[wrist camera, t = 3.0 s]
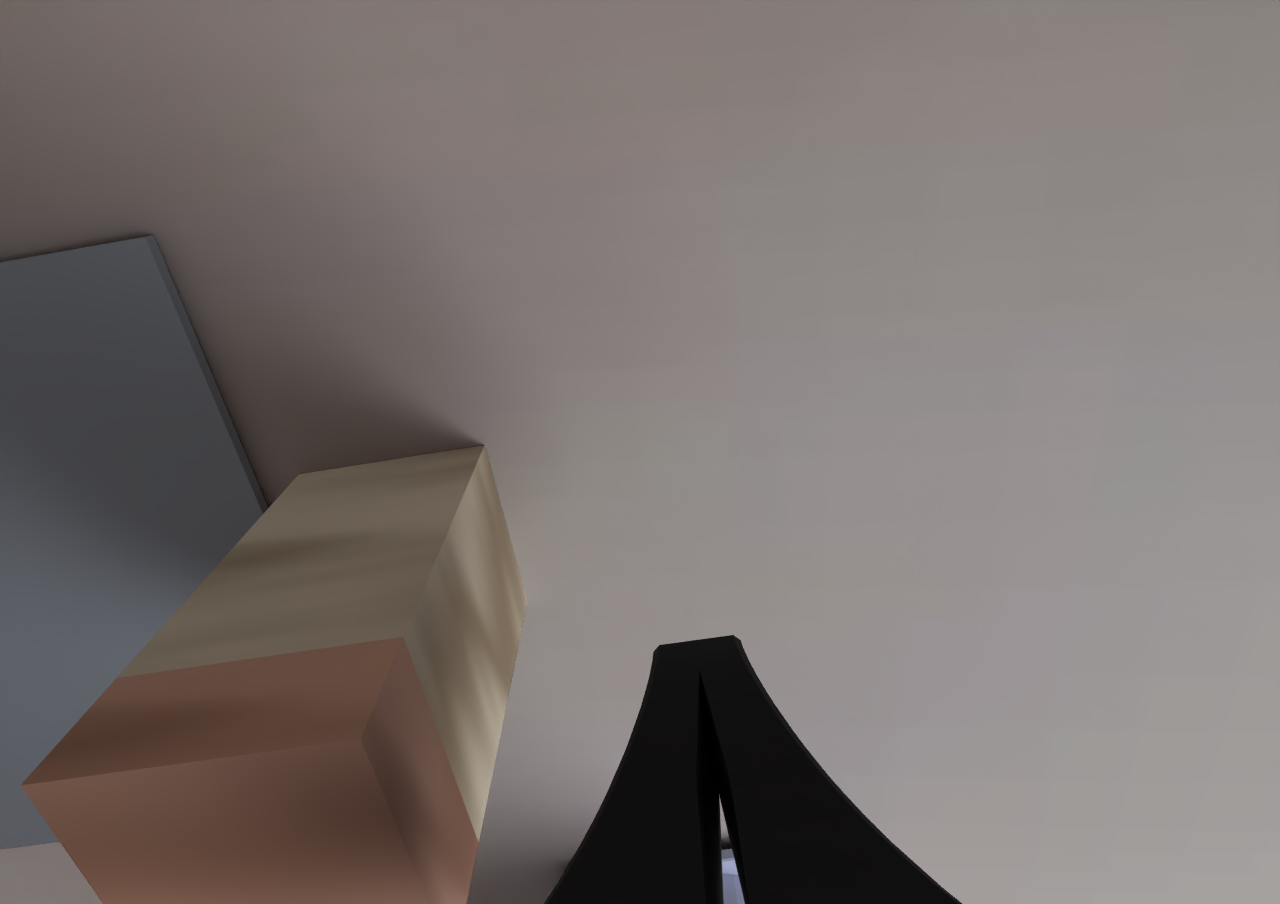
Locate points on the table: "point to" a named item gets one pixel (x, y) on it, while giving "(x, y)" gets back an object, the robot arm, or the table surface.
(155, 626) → the mat
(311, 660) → the tall block
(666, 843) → the robot arm
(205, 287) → the table surface
